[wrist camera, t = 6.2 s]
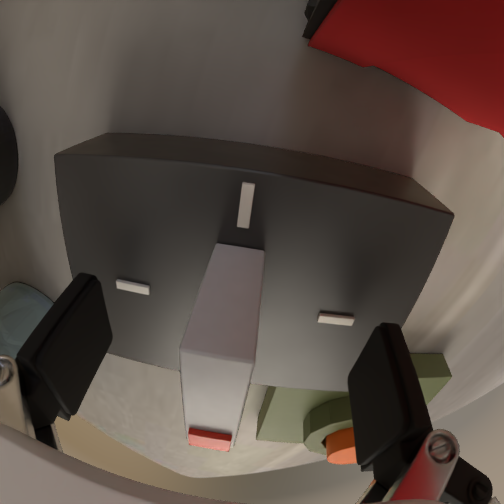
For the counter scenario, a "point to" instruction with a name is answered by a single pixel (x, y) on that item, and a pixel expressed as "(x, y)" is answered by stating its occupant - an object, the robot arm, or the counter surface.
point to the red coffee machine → (423, 47)
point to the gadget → (247, 245)
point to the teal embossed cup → (20, 315)
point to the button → (341, 447)
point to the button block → (330, 407)
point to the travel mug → (7, 157)
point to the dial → (221, 346)
